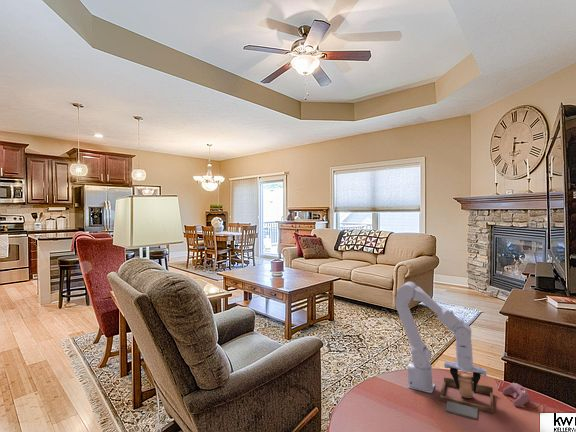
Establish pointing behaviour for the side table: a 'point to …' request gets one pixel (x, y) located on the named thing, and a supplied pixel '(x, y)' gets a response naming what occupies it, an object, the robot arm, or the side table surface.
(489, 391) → the frame
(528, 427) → the side table surface
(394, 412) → the side table surface
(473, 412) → the rubber mat
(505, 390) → the video game controller
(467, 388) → the beige peg
